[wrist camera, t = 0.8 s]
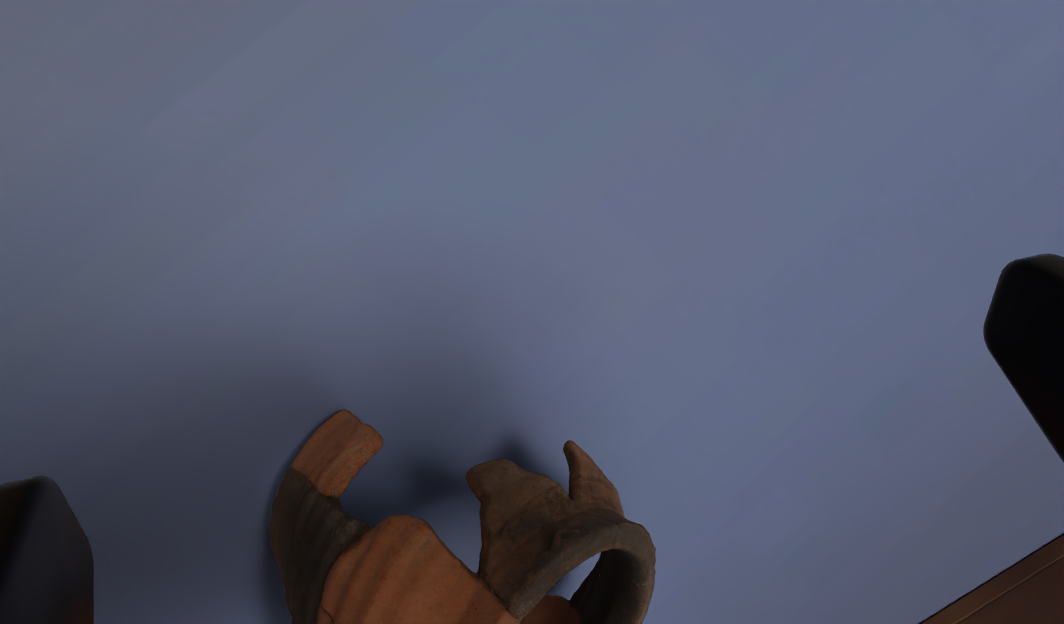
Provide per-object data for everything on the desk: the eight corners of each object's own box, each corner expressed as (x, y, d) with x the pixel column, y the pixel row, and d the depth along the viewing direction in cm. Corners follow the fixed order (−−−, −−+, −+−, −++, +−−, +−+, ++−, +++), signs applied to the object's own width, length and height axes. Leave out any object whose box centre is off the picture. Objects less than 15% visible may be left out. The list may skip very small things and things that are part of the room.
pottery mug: (380, 303, 24) (598, 443, 19) (531, 428, 31) (718, 554, 26) (94, 679, 22) (249, 949, 17) (325, 719, 29) (483, 917, 24)
